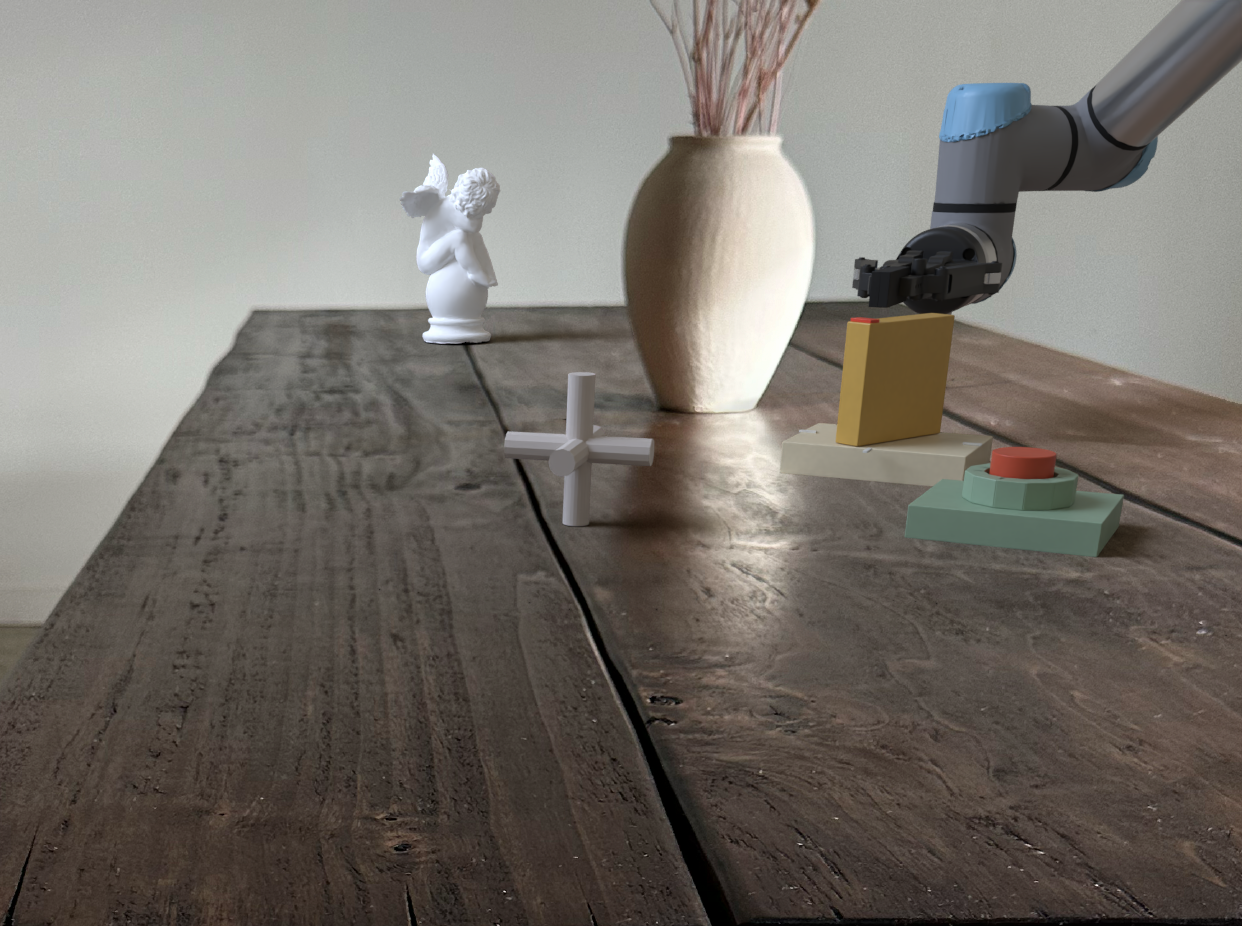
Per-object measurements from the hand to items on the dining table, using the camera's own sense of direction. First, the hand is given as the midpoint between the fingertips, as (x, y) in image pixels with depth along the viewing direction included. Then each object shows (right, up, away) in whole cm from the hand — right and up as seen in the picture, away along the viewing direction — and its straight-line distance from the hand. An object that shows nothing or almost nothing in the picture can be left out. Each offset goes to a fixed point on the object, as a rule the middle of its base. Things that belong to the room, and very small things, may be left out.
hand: (879, 289), depth 135 cm
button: (+3, -20, -23) cm, 31 cm away
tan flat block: (0, -13, -2) cm, 13 cm away
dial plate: (0, -15, -1) cm, 15 cm away
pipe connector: (-26, -23, -18) cm, 39 cm away
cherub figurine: (-32, +20, +79) cm, 88 cm away
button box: (+3, -24, -22) cm, 32 cm away
